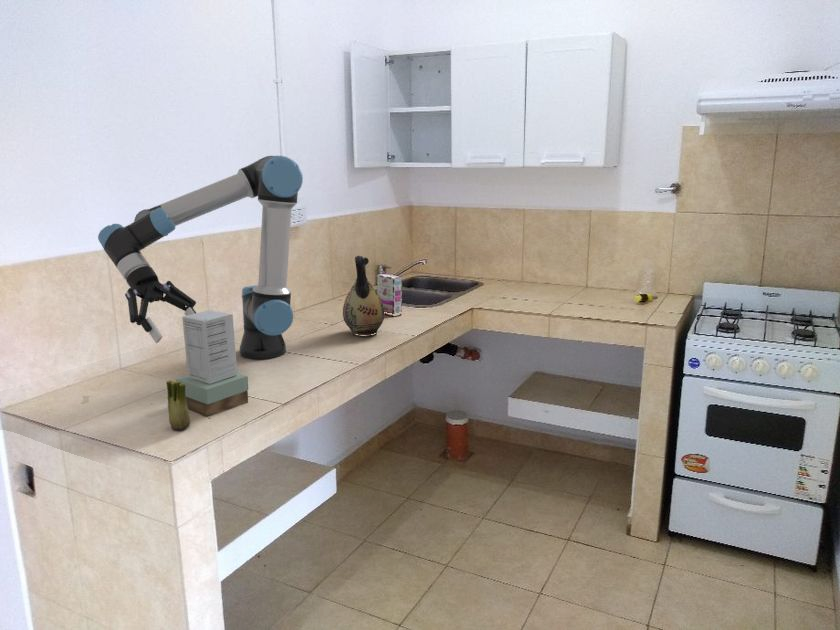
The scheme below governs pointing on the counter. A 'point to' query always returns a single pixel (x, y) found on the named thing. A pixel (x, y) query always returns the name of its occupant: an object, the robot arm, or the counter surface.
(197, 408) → the tower base
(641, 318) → the counter surface
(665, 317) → the counter surface
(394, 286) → the candy bar box
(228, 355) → the supplement box
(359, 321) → the ceramic jug
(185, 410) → the fennel bulb
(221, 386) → the tower top
